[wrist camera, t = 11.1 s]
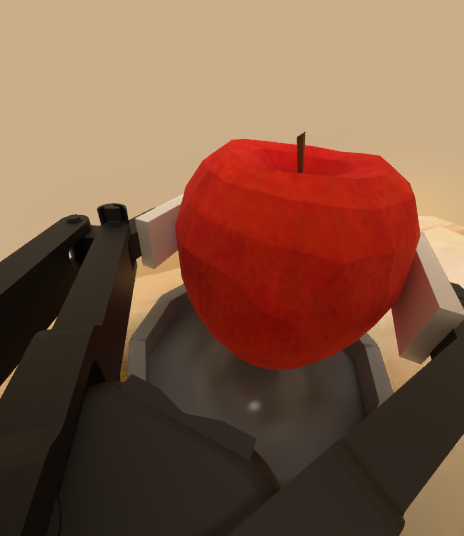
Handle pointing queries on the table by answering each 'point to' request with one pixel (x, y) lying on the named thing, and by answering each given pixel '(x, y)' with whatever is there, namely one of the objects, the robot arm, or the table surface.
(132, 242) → the robot arm
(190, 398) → the dish
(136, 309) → the table surface
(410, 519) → the table surface
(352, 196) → the apple
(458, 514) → the table surface
